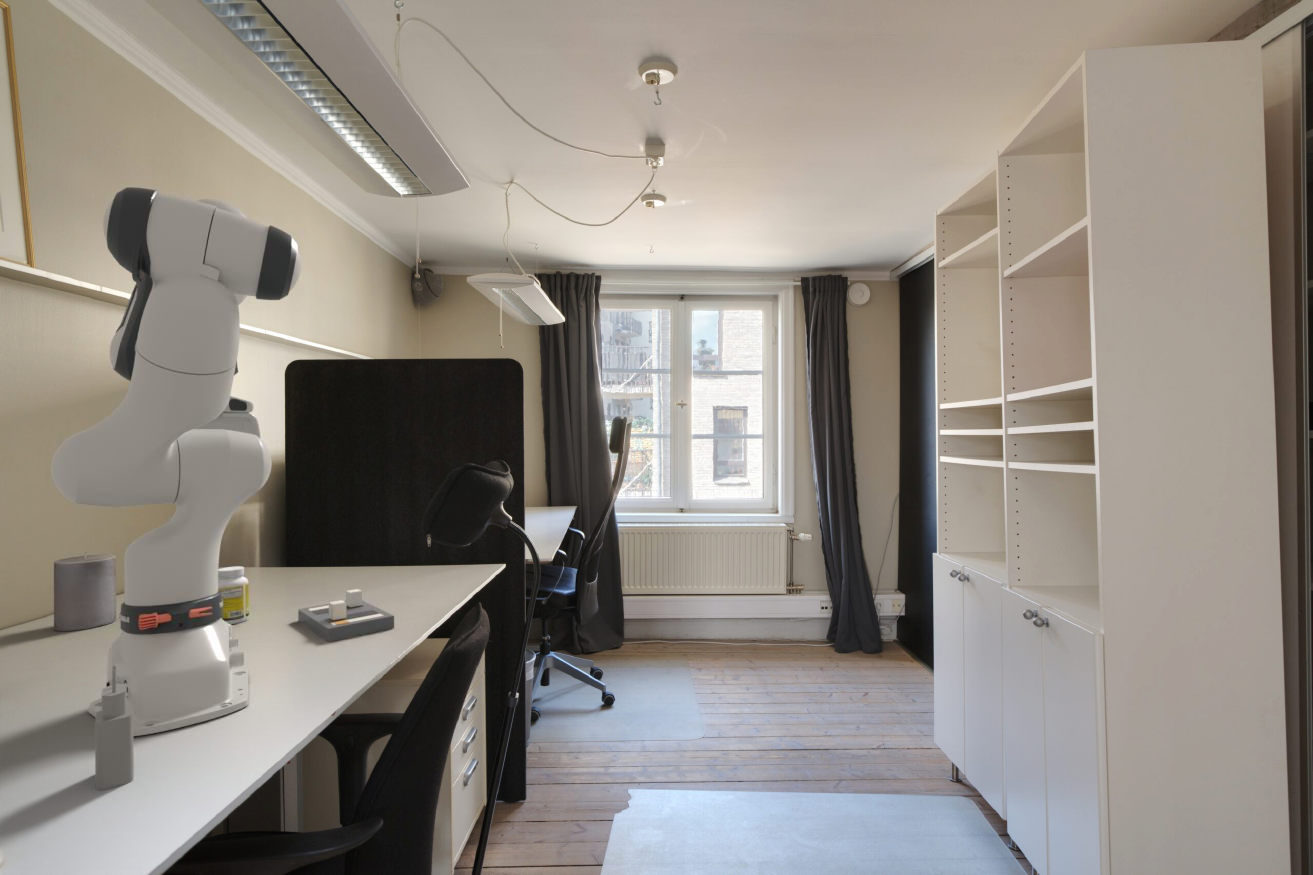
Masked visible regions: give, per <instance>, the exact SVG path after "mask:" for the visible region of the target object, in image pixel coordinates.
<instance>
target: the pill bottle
mask: <svg viewBox="0 0 1313 875" xmlns="http://www.w3.org/2000/svg"><path fill="white" fill-rule="evenodd" d="M244 574H245V567H244V566H238V565H236V566H228V567H222V568H218V590H219V591H221V594H222V599H223V606H222V607H223V616H222V617H221V618H222V619H223V620H224V621H225V622H227V623H229V624H230V625H236V624H240V623H243V622H246V621H247V620H249V618H250V594H249V586H250V585H249V584H250V582H249V580H248V578H247V577H245V576H244Z"/></svg>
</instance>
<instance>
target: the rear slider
mask: <svg viewBox="0 0 1313 875" xmlns="http://www.w3.org/2000/svg"><path fill="white" fill-rule="evenodd" d="M345 601H346V605H347V606H348V607H355V606H360V605H362V601H363V591H362V590H361V589H359V588H356V589H355V588H354V589H349V590H345Z"/></svg>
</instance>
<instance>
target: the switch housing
mask: <svg viewBox="0 0 1313 875" xmlns="http://www.w3.org/2000/svg"><path fill="white" fill-rule="evenodd" d="M343 601H344V600H343ZM344 602H346V600H345V601H344ZM297 611H298V612H297V614H298V617H297V618H298V620H297V621H298V622H300V623H301V624H302V625H303V626H304V627H307V629H310V631H312V632H314V633H315V634H317V635H318V636H320V638H322V639H324V640H326V641H327V642H335V641H340V640H343V639H349V638H354V637H358V636H363V635H366V634H367V635H368V634H372V633H373V634H374V633H376V632H381V631H386V630H391V629H395V615H393V614H392V613H390V612H387V611H385V610H384V609H381V608H378V607H377V606H375V605H373V604H371V603H368V602H366V601H364V600H362V605H360V606H355V607H348V606H347V605H346V618H343V619H338V620H332V619H330V618H329V603H327V604H321V605H316V606H309V607H304V608H299V609H297Z"/></svg>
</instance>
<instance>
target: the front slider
mask: <svg viewBox="0 0 1313 875" xmlns="http://www.w3.org/2000/svg"><path fill="white" fill-rule="evenodd" d="M328 604H329V618H330V619H332V620H338V619H343V618H346V602H344V600H342V599H340V600H336V601H330V602H329V601H328Z"/></svg>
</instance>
